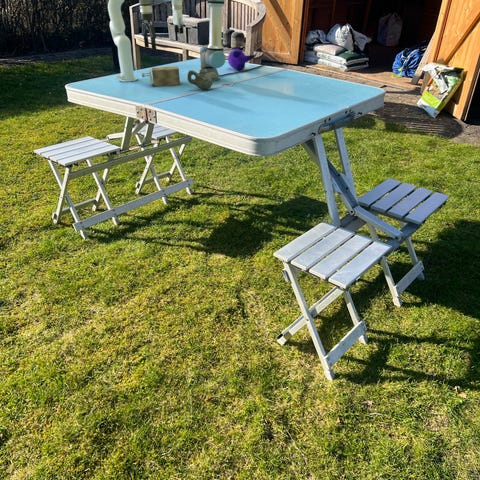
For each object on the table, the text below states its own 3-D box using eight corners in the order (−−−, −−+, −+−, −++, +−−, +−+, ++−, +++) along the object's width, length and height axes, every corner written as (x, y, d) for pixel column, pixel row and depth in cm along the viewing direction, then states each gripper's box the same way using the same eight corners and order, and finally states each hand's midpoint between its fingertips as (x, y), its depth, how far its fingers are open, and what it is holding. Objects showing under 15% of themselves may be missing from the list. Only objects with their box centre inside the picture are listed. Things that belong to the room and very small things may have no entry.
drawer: (143, 85, 320) (141, 72, 315) (142, 83, 328) (141, 69, 324) (175, 83, 324) (174, 70, 320) (174, 81, 332) (173, 68, 328)
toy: (240, 72, 359) (228, 71, 382) (259, 65, 362) (246, 64, 386) (234, 52, 351) (222, 52, 375) (253, 45, 354) (241, 45, 378)
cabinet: (154, 86, 321) (152, 70, 316) (153, 83, 331) (151, 67, 325) (180, 84, 325) (178, 68, 319) (178, 82, 334) (177, 66, 328)
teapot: (216, 86, 317) (215, 63, 310) (220, 89, 308) (219, 66, 300) (186, 88, 312) (184, 66, 304) (190, 92, 302) (188, 68, 295)
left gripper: (168, 7, 340) (170, 32, 349) (176, 8, 327) (178, 34, 335) (177, 7, 343) (179, 31, 352) (186, 8, 330) (187, 33, 338)
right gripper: (134, 12, 297) (138, 46, 308) (147, 14, 279) (151, 51, 289) (145, 11, 300) (149, 46, 311) (158, 13, 282) (162, 50, 293)
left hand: (179, 32), depth 343 cm, fingers open, 9 cm apart
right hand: (150, 48), depth 300 cm, fingers open, 13 cm apart
